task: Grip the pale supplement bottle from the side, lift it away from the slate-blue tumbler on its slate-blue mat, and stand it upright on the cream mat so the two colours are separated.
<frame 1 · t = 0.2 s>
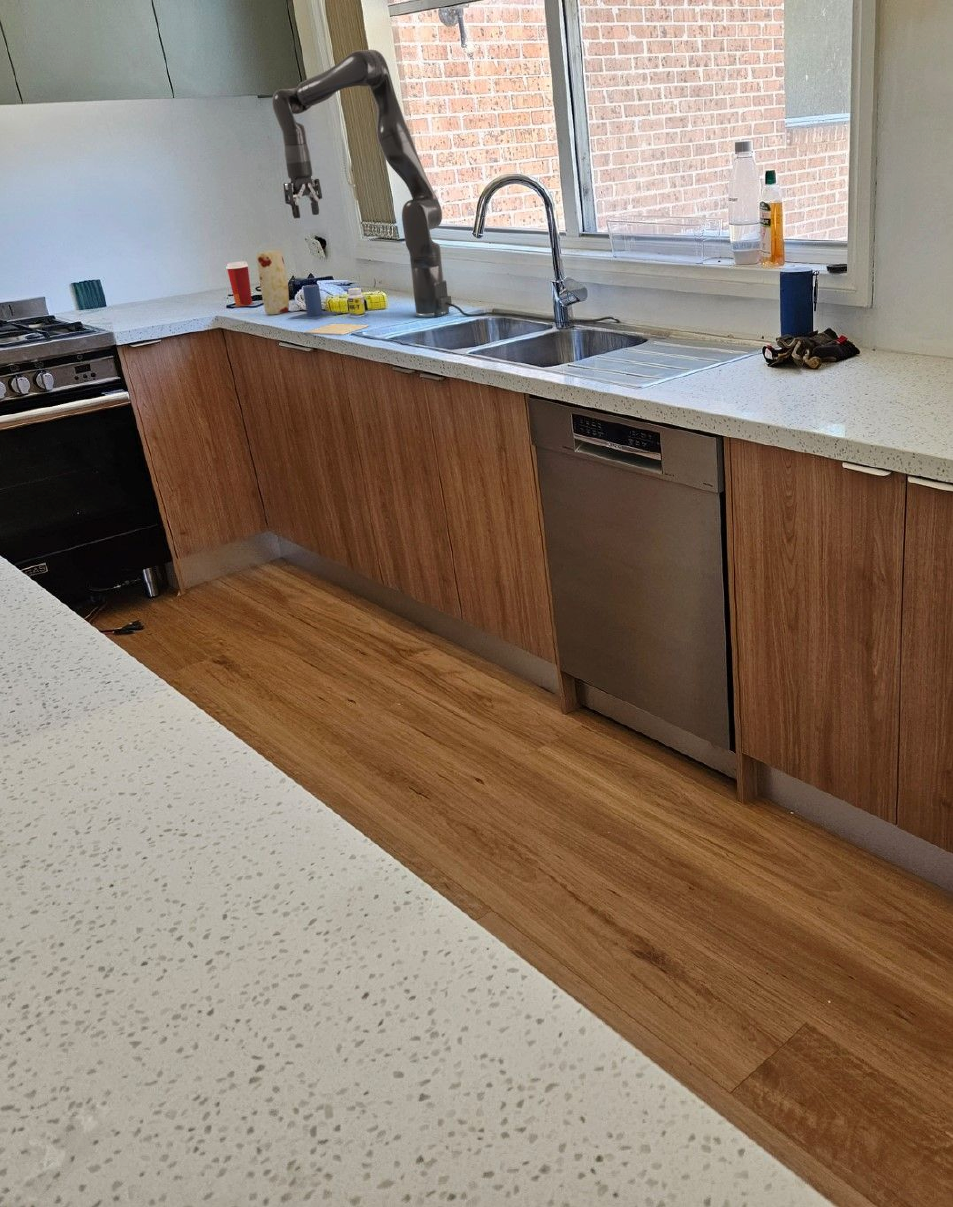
hand: (306, 216, 336), 29 cm above the countertop, tool pointing down, fingers open, 8 cm apart
blue mat: (315, 316, 340), on the countertop
paper cup: (243, 305, 373), on the countertop
food model: (278, 314, 350), on the countertop
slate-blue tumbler: (315, 315, 340), resting on blue mat
cream mat: (337, 329, 316), on the countertop
supplement bottle: (358, 317, 333), on the countertop
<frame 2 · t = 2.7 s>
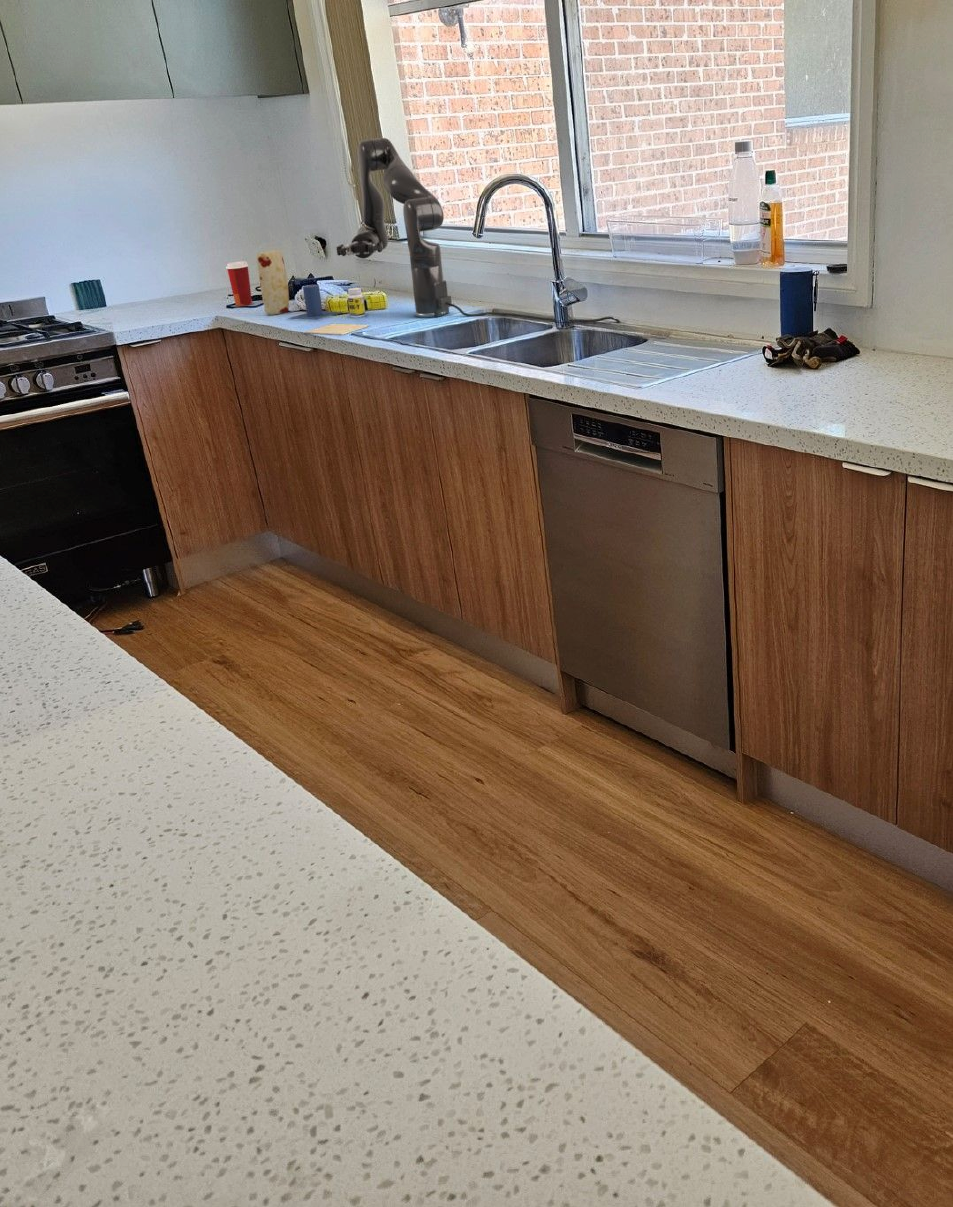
hand: (356, 251, 335), 18 cm above the countertop, tool horizontal, fingers open, 8 cm apart
nothing on the countertop moved.
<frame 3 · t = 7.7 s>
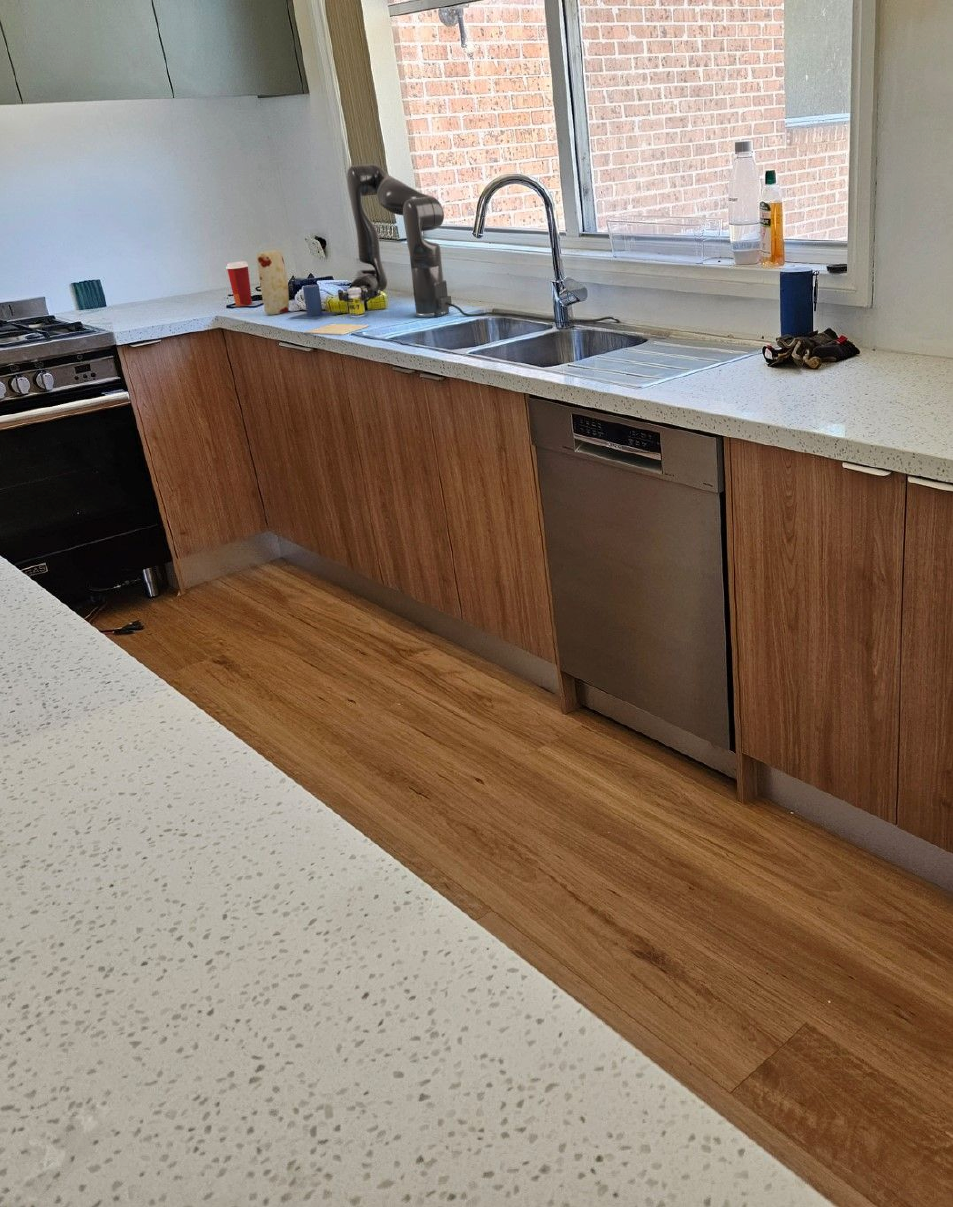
hand: (353, 298, 328), 6 cm above the countertop, tool horizontal, fingers closed on supplement bottle, 4 cm apart
supplement bottle: (358, 317, 333), on the countertop, touching gripper
everything else where it was.
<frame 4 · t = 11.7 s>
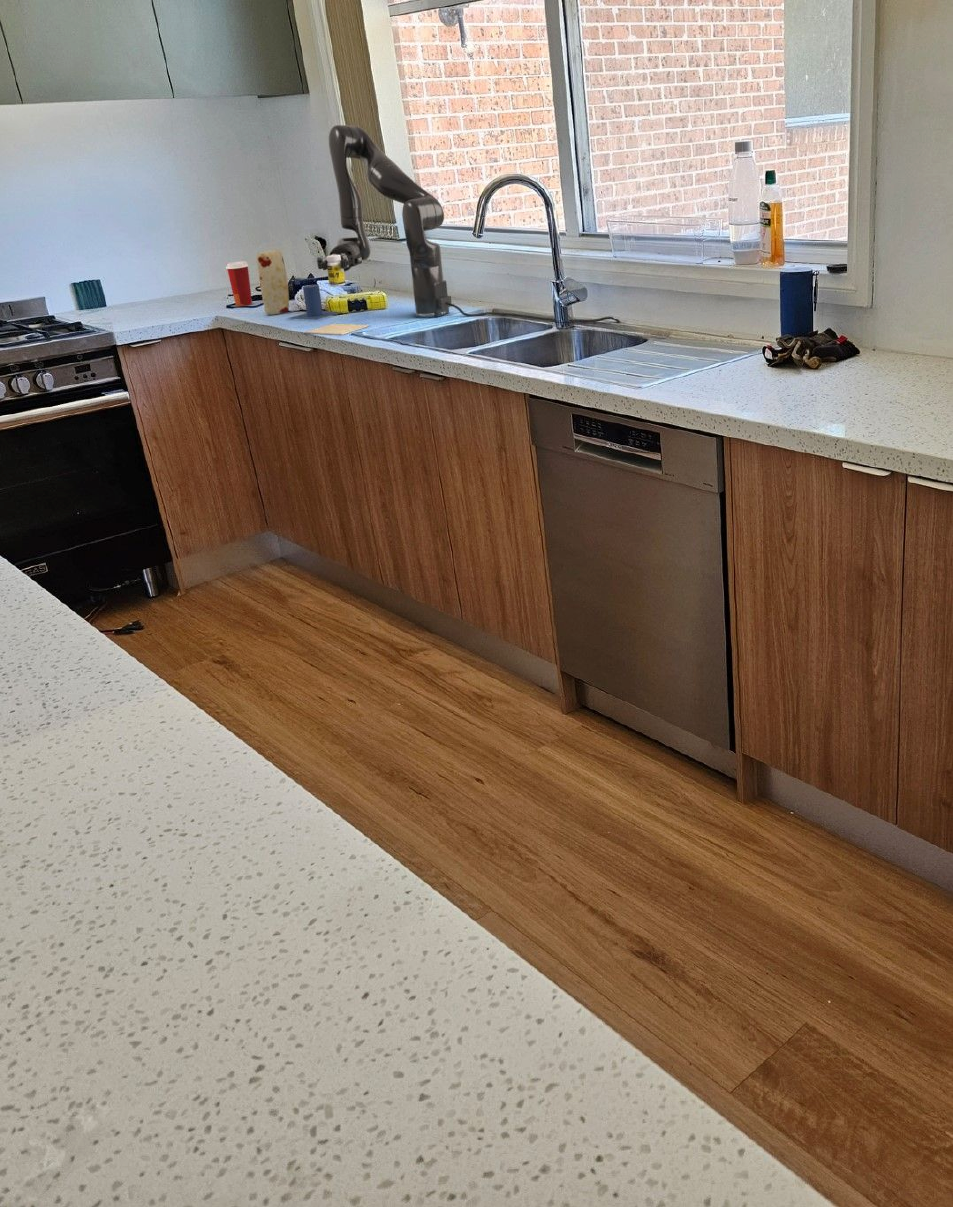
hand: (333, 265, 311), 18 cm above the countertop, tool horizontal, fingers closed on supplement bottle, 4 cm apart
supplement bottle: (337, 286, 316), point 12 cm above the countertop, touching gripper
everything else where it was.
when the fingers open (6 cm above the countertop, at t = 15.9 s): supplement bottle stays where it is, resting on cream mat.
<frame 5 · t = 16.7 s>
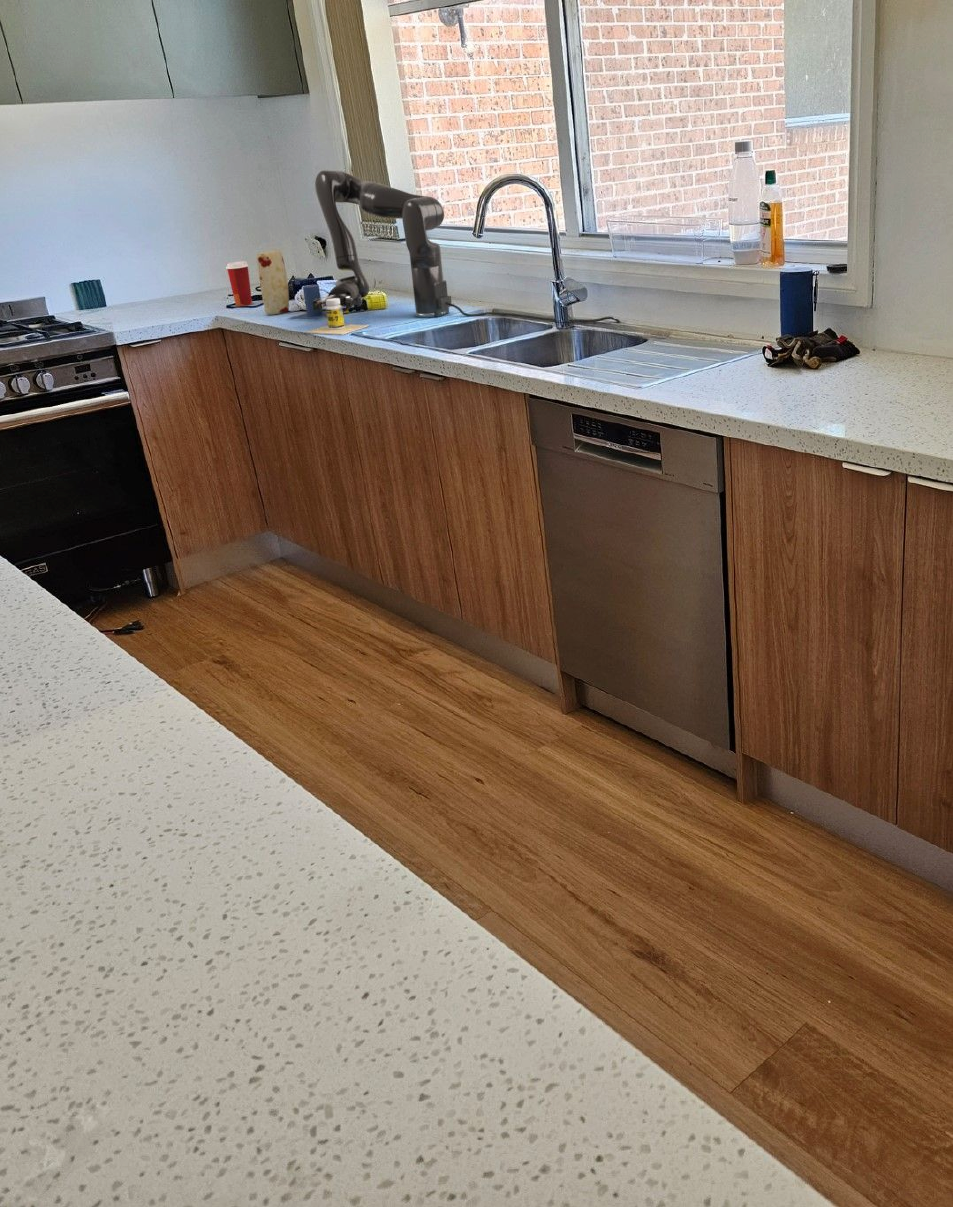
hand: (332, 306, 311), 7 cm above the countertop, tool horizontal, fingers open, 8 cm apart
supplement bottle: (336, 329, 316), resting on cream mat
everything else where it was.
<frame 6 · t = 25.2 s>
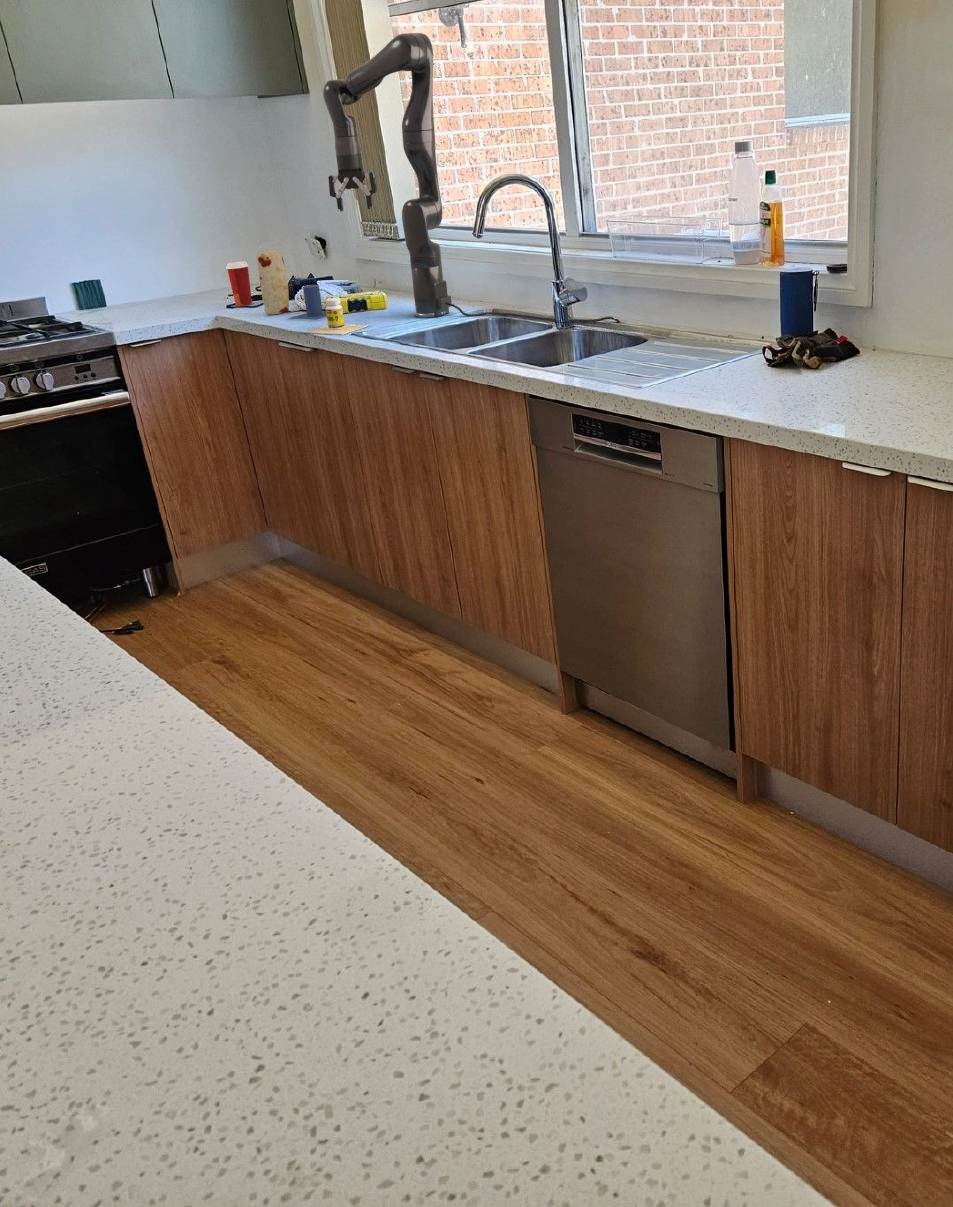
hand: (355, 210, 329), 30 cm above the countertop, tool pointing down, fingers open, 8 cm apart
nothing on the countertop moved.
at the end: supplement bottle inside the target area on the cream mat (0.2 cm from its centre), point 0.1 cm above the cream mat's base; supplement bottle tilted 0°; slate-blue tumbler moved 0.0 cm from its start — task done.
